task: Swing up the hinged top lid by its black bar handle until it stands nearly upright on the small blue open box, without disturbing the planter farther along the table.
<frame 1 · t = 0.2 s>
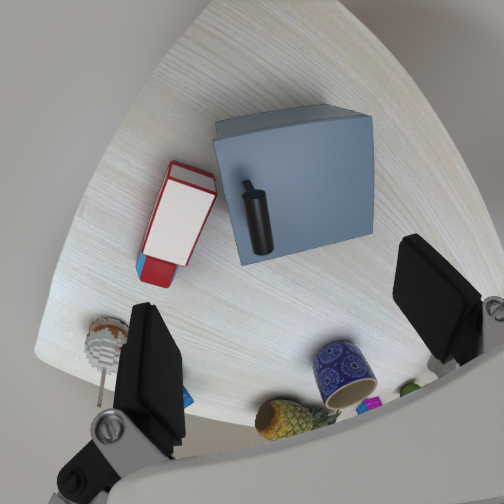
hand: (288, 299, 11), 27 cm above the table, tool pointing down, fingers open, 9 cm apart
avocado: (405, 385, 79), on the table
fruit: (300, 408, 71), on the table
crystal: (169, 376, 54), on the table
puzzle toy: (366, 402, 79), on the table
blue open box: (280, 160, 36), on the table
pitcher: (465, 334, 72), on the table
lid: (313, 200, 25), point 13 cm above the table, hinge at 0.0°
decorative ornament: (111, 331, 46), on the table
planter: (332, 351, 59), on the table
toy truck: (172, 219, 37), on the table
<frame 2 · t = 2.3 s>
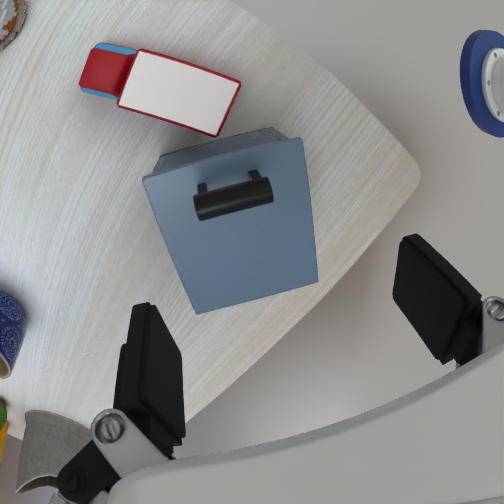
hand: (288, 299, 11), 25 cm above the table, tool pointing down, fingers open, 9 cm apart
blue open box: (229, 195, 35), on the table
pitcher: (74, 434, 62), on the table
lid: (245, 249, 24), point 13 cm above the table, hinge at 0.0°
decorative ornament: (4, 23, 17), on the table
planter: (6, 306, 37), on the table
toy truck: (157, 82, 26), on the table
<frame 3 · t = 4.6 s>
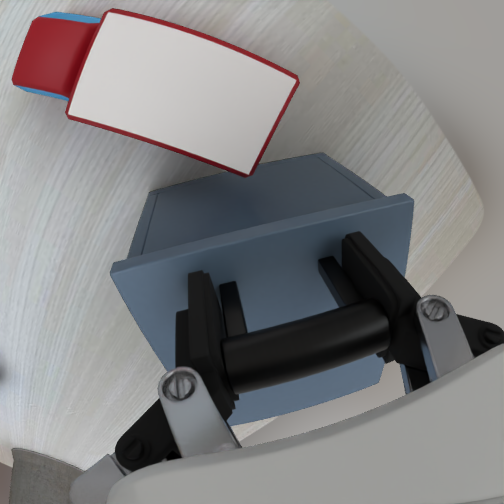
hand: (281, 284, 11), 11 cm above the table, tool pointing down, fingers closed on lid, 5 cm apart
blue open box: (253, 250, 24), on the table
pitcher: (65, 471, 50), on the table
lid: (299, 383, 13), point 13 cm above the table, hinge at 0.0°, touching gripper
toy truck: (145, 74, 16), on the table
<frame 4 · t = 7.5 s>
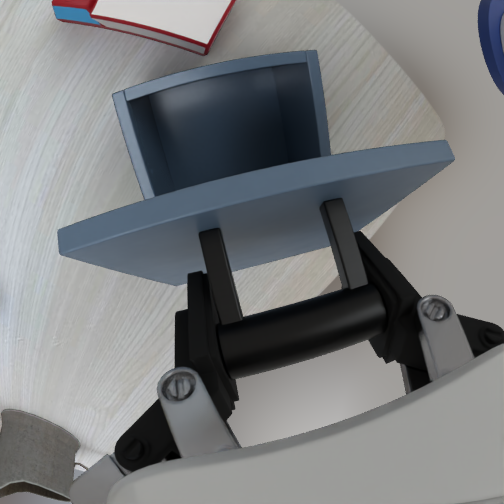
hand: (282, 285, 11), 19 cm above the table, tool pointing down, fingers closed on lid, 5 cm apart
blue open box: (223, 139, 27), on the table
pitcher: (54, 437, 53), on the table
lid: (274, 284, 14), point 17 cm above the table, hinge at 47.4°, touching gripper
toy truck: (142, 9, 18), on the table
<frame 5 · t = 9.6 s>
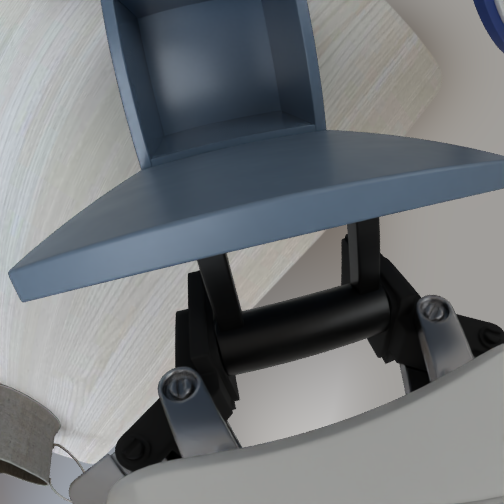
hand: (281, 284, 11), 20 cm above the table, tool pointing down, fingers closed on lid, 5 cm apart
blue open box: (210, 60, 23), on the table
pitcher: (34, 415, 50), on the table
lid: (263, 217, 13), point 18 cm above the table, hinge at 80.4°, touching gripper
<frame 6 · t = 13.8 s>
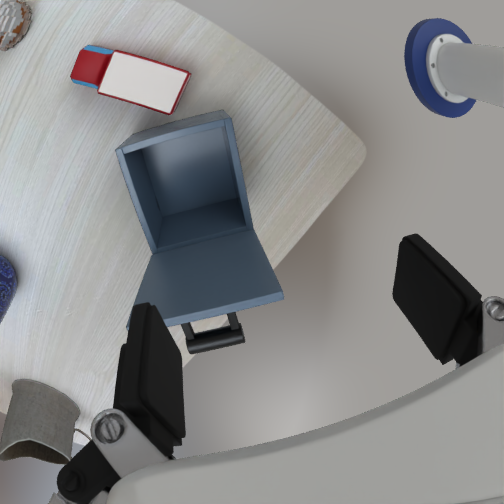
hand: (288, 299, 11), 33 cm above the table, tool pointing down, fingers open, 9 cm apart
blue open box: (188, 166, 40), on the table
pitcher: (57, 406, 67), on the table
lid: (208, 292, 30), point 18 cm above the table, hinge at 80.7°
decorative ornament: (12, 26, 22), on the table
planter: (1, 268, 42), on the table
toy truck: (131, 76, 32), on the table
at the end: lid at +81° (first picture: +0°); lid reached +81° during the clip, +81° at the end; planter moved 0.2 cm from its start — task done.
